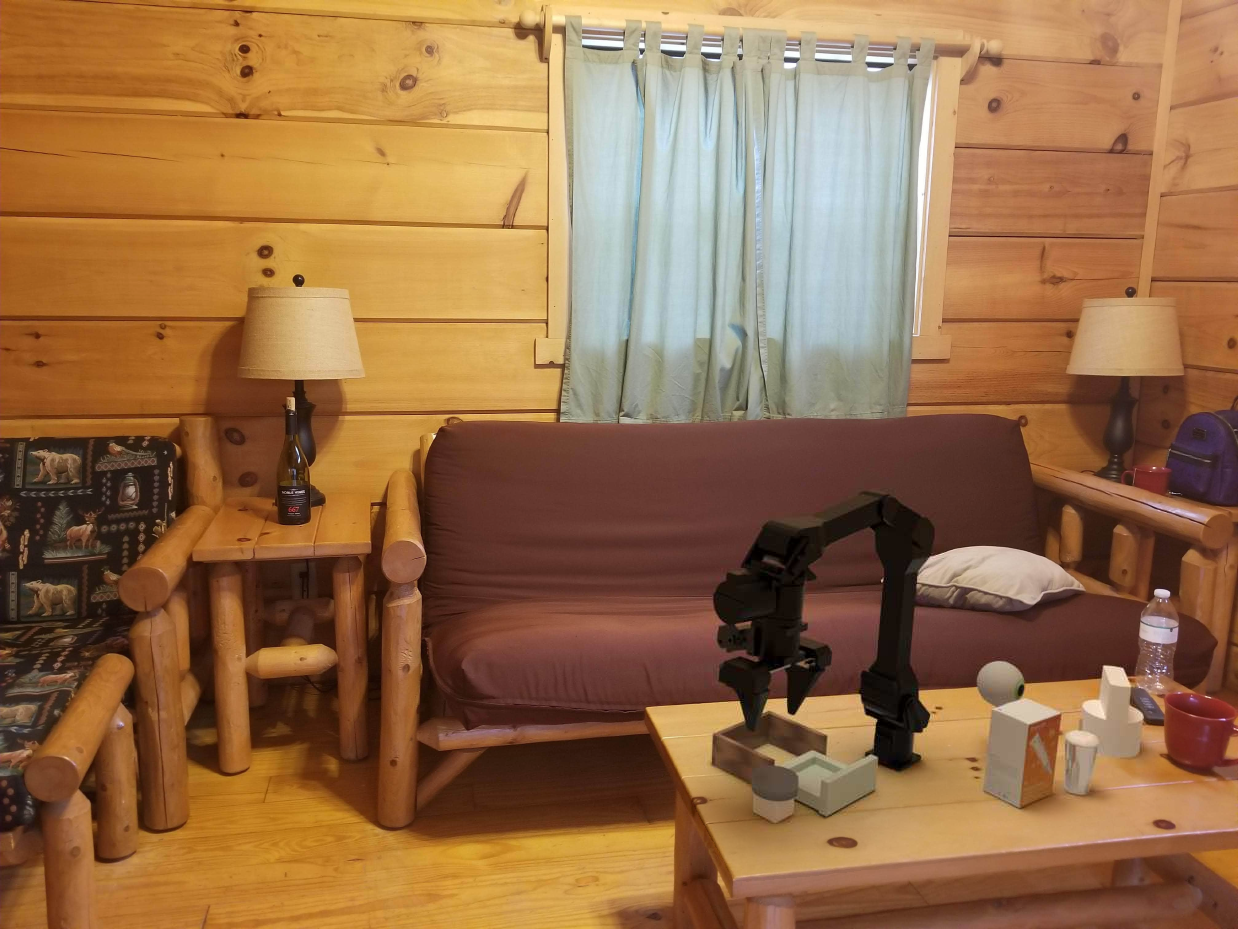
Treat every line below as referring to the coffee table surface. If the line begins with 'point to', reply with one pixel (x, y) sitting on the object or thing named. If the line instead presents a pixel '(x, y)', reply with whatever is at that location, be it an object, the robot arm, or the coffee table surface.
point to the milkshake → (1079, 760)
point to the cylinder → (774, 783)
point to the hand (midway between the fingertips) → (771, 722)
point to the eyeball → (1000, 683)
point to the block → (773, 808)
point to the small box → (1022, 752)
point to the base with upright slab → (1114, 716)
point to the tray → (832, 780)
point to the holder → (738, 744)
